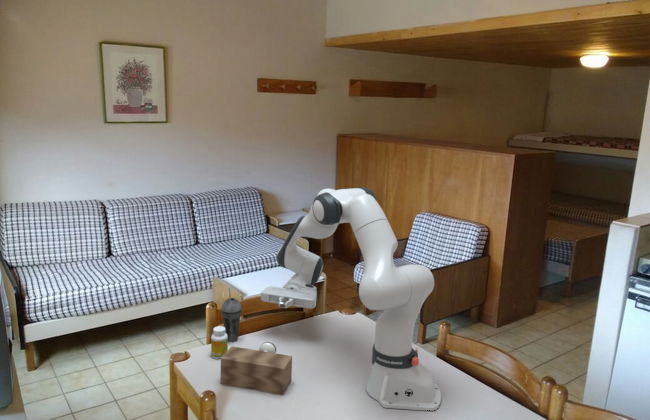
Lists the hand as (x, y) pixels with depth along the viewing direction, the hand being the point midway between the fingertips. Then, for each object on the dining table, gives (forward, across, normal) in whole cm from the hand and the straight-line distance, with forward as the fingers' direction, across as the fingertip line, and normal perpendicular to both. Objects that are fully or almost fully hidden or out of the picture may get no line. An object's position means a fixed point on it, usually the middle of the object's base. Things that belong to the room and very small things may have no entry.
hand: (282, 305), depth 173 cm
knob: (+18, 0, +12) cm, 21 cm away
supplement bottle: (+13, -18, +16) cm, 27 cm away
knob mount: (+25, 0, +15) cm, 29 cm away
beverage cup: (+1, -19, +16) cm, 24 cm away
